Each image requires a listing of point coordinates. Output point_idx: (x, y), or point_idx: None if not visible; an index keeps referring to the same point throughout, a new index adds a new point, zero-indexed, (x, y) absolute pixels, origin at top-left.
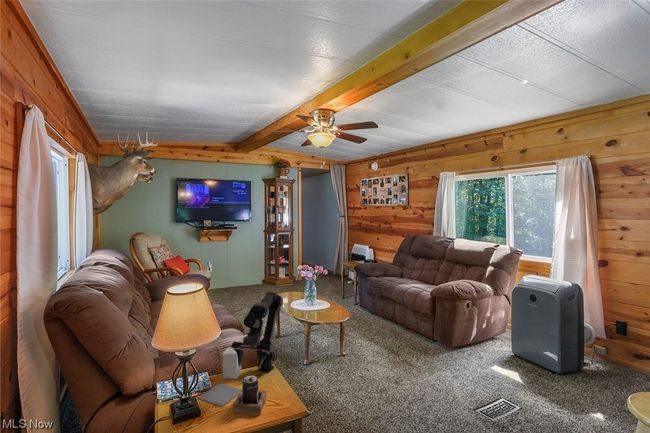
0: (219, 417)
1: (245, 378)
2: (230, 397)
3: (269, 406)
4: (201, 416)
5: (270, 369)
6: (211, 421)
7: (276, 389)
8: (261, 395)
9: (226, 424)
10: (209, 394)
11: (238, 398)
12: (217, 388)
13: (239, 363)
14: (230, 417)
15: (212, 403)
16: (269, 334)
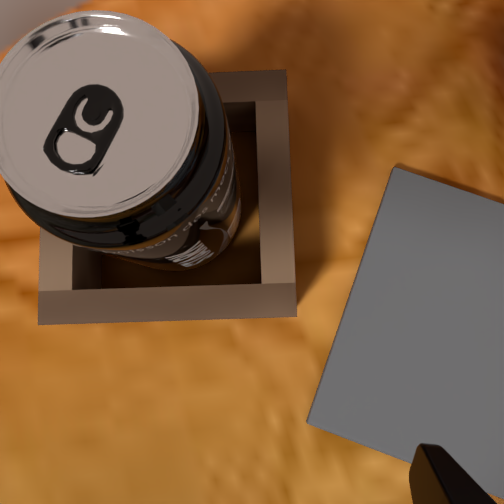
0: (364, 52)
1: (186, 142)
2: (378, 292)
3: (27, 219)
4: (500, 48)
5: None
6: (402, 5)
7: (8, 477)
8: (69, 244)
9: None
10: None
11: (273, 174)
12: None
13: (446, 484)
14: (284, 61)
15: (494, 203)
16: None
